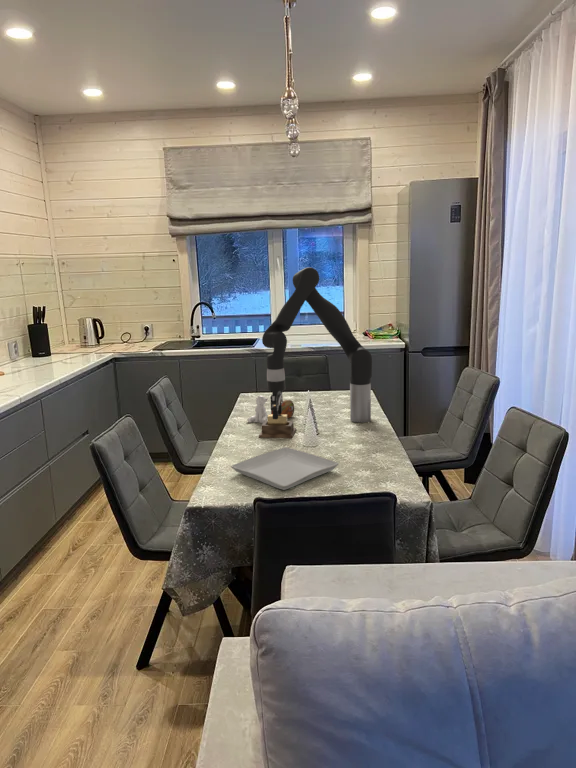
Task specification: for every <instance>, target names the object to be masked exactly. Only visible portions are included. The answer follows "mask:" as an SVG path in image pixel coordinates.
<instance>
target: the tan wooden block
mask: <svg viewBox="0 0 576 768" xmlns="http://www.w3.org/2000/svg"><path fill="white" fill-rule="evenodd" d="M267 415H268V416H267V421H268V425H288V423H287V421H288V419H287V415H278V419H273V415H272V414H267Z"/></svg>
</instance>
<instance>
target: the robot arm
mask: <svg viewBox="0 0 576 768" xmlns="http://www.w3.org/2000/svg"><path fill="white" fill-rule="evenodd" d="M319 282H320V275H319V272H318V271H317V269H315V268H314V267H310V266H308V267H305V268H303V269H301V270H300V271H298V272H296V273H294V275H293V277H292V285H293V286H294V289H295V290H294V292H293V293H292V295H291V296H290V297H289V298H288V300H287V301H286V302H285V303H284V305H283V306H282V307H281V309H280V310H279V313H278V315H277V317H276V318H275V320H274V321H273V322H272V323H271V324H269V325H270V326H268V327H267V329H266V330H265V331H264V332H263V335H262V339H261V340H262V344H263V346H264V347H265V348H269V349H273V351H272V353H270V354H267V356H266V385H267V386H266V387H267V388H266V389H267V391H269V392H272V394H271V395H270V396H269V397H270V411H271V410H272V413H273V419H278V414H281V413H282V403H283V401H284V400H283V399H284V398H283V391H285V390H286V374H285V373H286V372H285V367H284V366H285V365H284V364H285V363H284V360H285V359H284V358H285V353H286V351H287V344H288V339H287V335H286V334H285V333H284V332H287V331H289V330H290V329H291V327H292V325H293V323H294V322H295V321H296V320H295V319H296V318H297V316H298V314H299V313H300V310H301V308H302V307H303V305H304V303H305V302H307V304H308V306H309V307H310V309H312V311H313V312H314V313H315V314H316V316H317V318H318V319H319V320H320V322H321V324H322V325H323V326H324V327H325V329H326V330H327V332H328V333H329V334H330V336H332V337H333V339H334V340H335V341H336V342H337V343H338V345H339V346H340V347H341V349H342V351H343V352H344V353H345V355H346V357H347V359H348V361H349V363H350V365H351V367H350V368H351V370H350V371H351V373H350V377H349V396H350V397H349V399H350V400H349V401H350V403H349V406H350V407H349V408H350V410H349V412H350V413H349V415H350V417H349V418H350V421H351V422H355V423H368V422H370V423H371V422H372V397H371V395H372V389H371V388H372V387H371V386H372V385H371V384H372V383H371V382H372V375H373V357H372V354H371V352H370V350H367V349H366V348H365V347H364V346H363V345H362V344H361V343H360V342H359V340H358V339H356V337H355V335H354V334H353V332H352V329H351V328H350V326H349V323H348V322H347V320H346V318H345V317H344V315H343V314H342V313H341V311H340V309H339V308H338V307H337V306H336V305H334V304H333V302H331V301H329V300H327V299H326V298H324V297H323V296H322V295H321V294H320V292H319V291H318V290H317V288H316V287H317V286H318V284H319ZM274 406H275V407H274Z"/></svg>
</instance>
